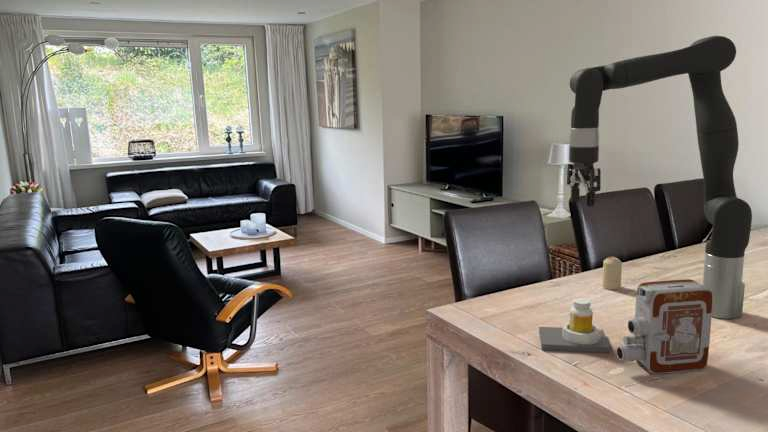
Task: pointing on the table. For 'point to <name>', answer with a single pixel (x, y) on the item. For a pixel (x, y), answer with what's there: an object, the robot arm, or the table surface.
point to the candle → (612, 273)
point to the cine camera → (670, 327)
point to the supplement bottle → (581, 316)
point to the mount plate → (564, 345)
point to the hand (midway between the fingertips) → (582, 203)
